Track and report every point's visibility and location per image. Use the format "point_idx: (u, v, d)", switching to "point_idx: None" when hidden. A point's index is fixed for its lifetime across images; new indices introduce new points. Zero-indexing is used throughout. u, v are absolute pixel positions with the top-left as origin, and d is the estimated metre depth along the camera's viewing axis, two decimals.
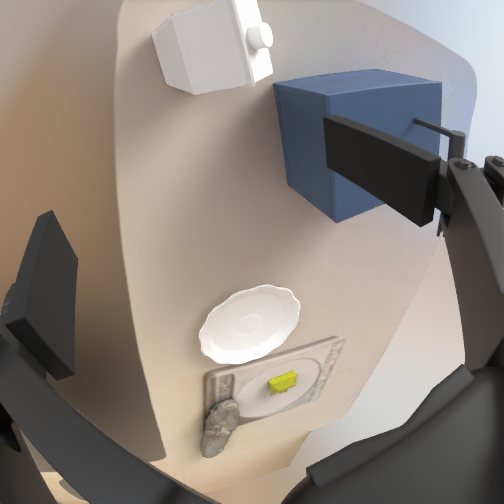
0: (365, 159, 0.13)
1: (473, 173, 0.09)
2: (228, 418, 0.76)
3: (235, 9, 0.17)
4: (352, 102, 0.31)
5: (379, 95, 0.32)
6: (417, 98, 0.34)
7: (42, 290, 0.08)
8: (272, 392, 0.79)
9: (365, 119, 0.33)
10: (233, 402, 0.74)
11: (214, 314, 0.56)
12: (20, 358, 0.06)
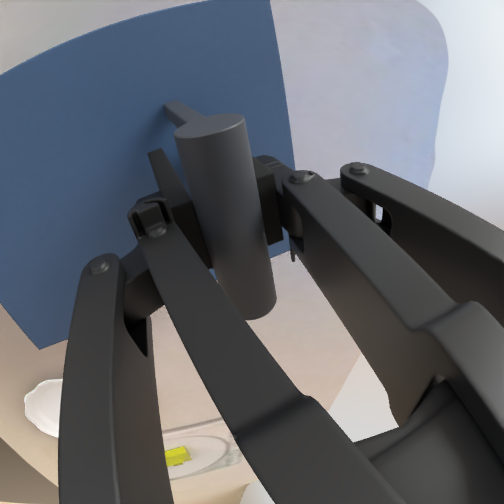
0: None
1: (315, 184, 0.09)
2: None
3: None
4: None
5: (18, 84, 0.10)
6: (164, 48, 0.12)
7: None
8: None
9: None
10: None
11: (31, 399, 0.34)
12: (188, 244, 0.08)
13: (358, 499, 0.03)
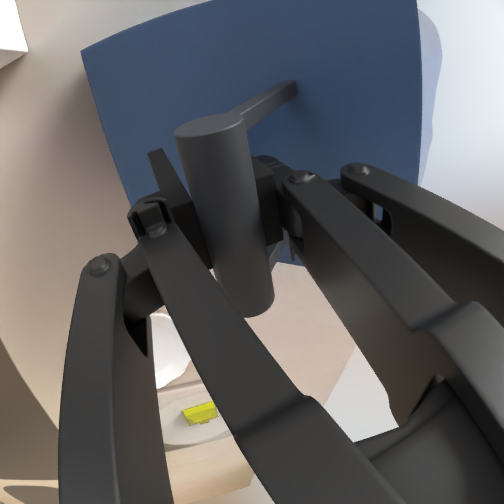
0: None
1: (315, 184, 0.09)
2: None
3: None
4: (111, 54, 0.16)
5: (160, 32, 0.14)
6: (288, 25, 0.11)
7: None
8: (189, 423, 0.65)
9: (139, 81, 0.16)
10: None
11: None
12: (188, 244, 0.08)
13: (358, 499, 0.03)
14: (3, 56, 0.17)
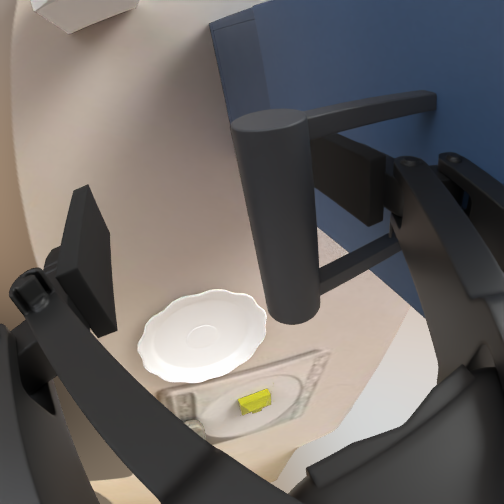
0: (317, 160, 0.13)
1: (422, 170, 0.09)
2: None
3: None
4: (277, 17, 0.16)
5: (317, 5, 0.12)
6: (434, 25, 0.08)
7: (88, 250, 0.10)
8: (242, 412, 0.66)
9: (298, 50, 0.16)
10: (196, 423, 0.61)
11: (153, 325, 0.43)
12: (71, 311, 0.07)
13: None
14: (127, 0, 0.18)
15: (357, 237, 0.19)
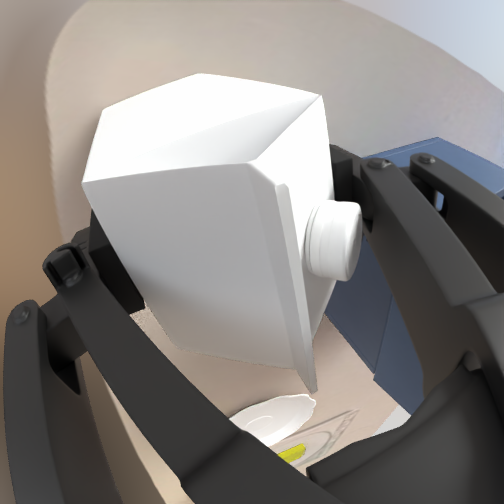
0: None
1: (390, 171, 0.09)
2: None
3: (290, 242, 0.05)
4: None
5: None
6: None
7: None
8: None
9: None
10: None
11: None
12: (105, 287, 0.07)
13: None
14: None
15: None
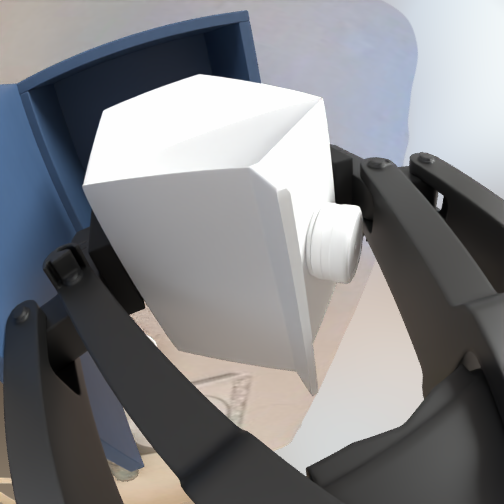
0: None
1: (390, 171, 0.09)
2: None
3: (291, 247, 0.05)
4: None
5: None
6: None
7: None
8: None
9: None
10: None
11: None
12: (104, 287, 0.07)
13: None
14: None
15: None
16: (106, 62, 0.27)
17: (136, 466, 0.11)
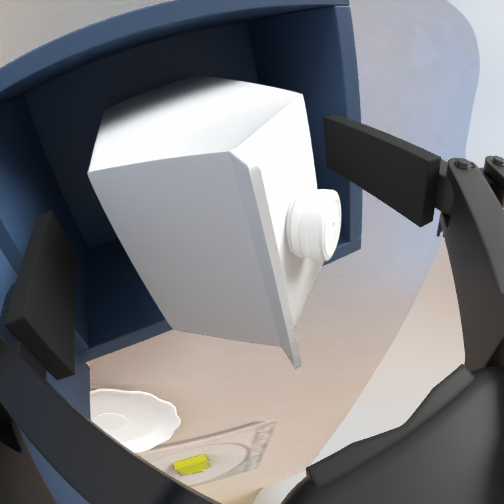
0: (365, 159, 0.13)
1: (473, 173, 0.09)
2: None
3: (264, 217, 0.06)
4: None
5: None
6: None
7: (42, 290, 0.08)
8: (180, 474, 0.55)
9: None
10: None
11: None
12: (20, 358, 0.06)
13: None
14: None
15: None
16: (102, 60, 0.18)
17: None
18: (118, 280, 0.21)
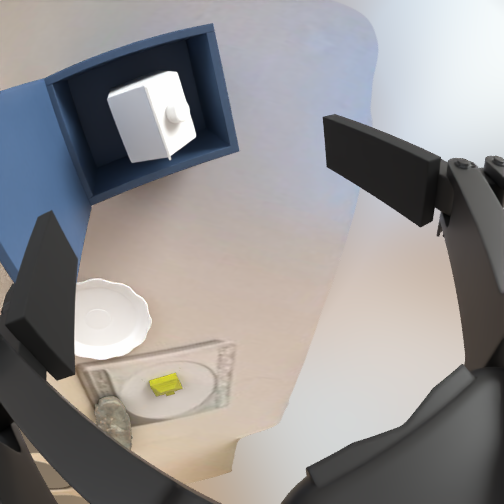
0: (365, 159, 0.13)
1: (473, 173, 0.09)
2: (115, 415, 0.70)
3: (149, 98, 0.24)
4: None
5: None
6: None
7: (42, 290, 0.08)
8: (155, 393, 0.73)
9: None
10: (114, 399, 0.68)
11: None
12: (20, 358, 0.06)
13: None
14: None
15: None
16: (109, 64, 0.35)
17: None
18: (112, 174, 0.38)
